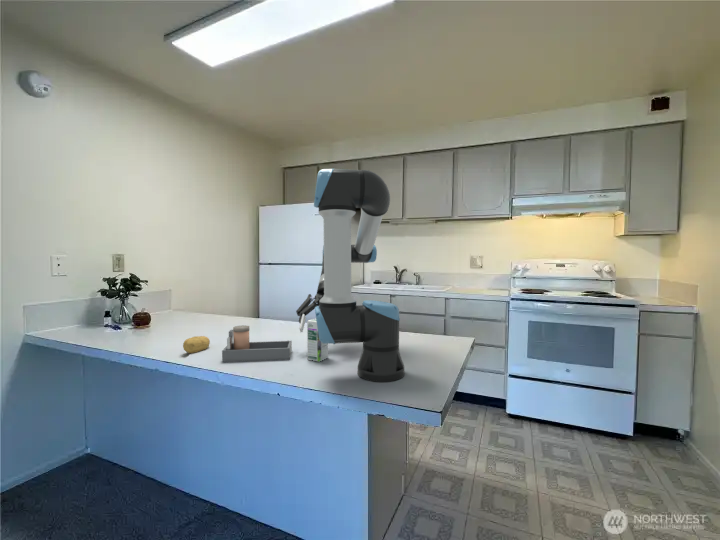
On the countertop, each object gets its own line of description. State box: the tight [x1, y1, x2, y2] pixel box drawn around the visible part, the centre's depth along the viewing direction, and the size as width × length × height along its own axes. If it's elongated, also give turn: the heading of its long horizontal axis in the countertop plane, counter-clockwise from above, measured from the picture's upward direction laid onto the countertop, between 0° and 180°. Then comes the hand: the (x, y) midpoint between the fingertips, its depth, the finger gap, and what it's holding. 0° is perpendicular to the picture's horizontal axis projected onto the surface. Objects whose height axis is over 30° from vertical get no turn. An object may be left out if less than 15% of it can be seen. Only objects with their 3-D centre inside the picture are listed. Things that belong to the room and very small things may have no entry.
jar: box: [232, 325, 250, 350], centre depth 123 cm, size 6×6×11 cm
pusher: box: [226, 329, 234, 350], centre depth 123 cm, size 1×8×9 cm, turn 7°
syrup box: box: [306, 318, 329, 363], centre depth 124 cm, size 6×6×14 cm
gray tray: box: [221, 340, 293, 363], centre depth 124 cm, size 23×11×5 cm, turn 98°
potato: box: [182, 335, 211, 354], centre depth 133 cm, size 7×11×6 cm, turn 155°
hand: (318, 331), depth 126 cm, fingers open, 13 cm apart
